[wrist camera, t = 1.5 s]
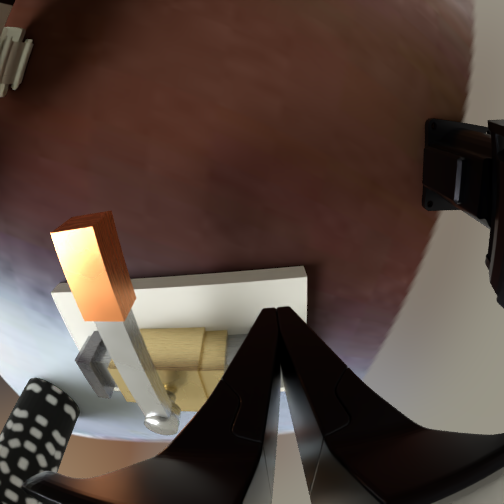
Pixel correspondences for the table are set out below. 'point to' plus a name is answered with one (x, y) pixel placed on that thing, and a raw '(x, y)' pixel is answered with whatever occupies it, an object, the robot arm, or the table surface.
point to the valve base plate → (200, 301)
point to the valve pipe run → (167, 363)
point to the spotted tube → (34, 438)
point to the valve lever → (113, 310)
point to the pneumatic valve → (12, 51)
